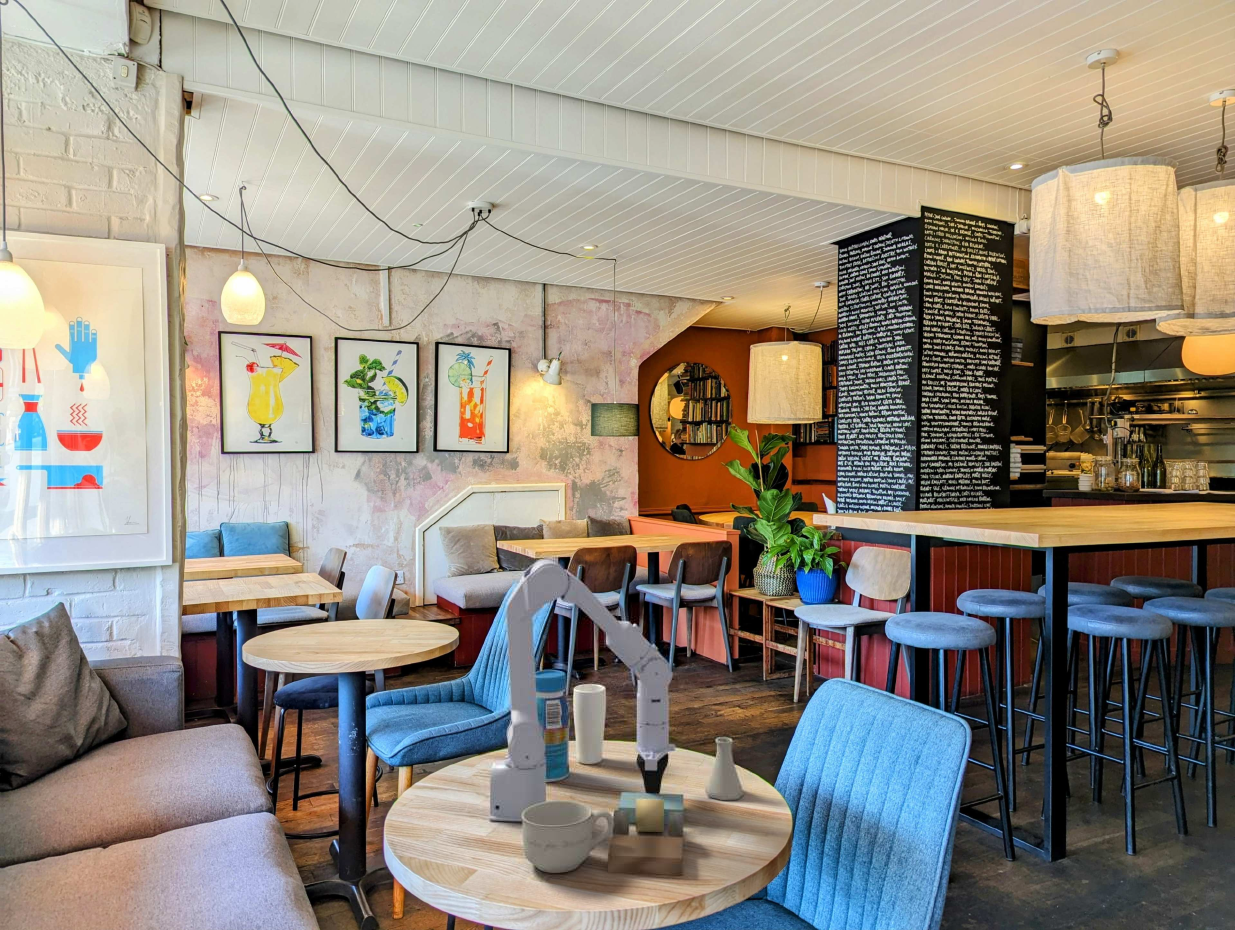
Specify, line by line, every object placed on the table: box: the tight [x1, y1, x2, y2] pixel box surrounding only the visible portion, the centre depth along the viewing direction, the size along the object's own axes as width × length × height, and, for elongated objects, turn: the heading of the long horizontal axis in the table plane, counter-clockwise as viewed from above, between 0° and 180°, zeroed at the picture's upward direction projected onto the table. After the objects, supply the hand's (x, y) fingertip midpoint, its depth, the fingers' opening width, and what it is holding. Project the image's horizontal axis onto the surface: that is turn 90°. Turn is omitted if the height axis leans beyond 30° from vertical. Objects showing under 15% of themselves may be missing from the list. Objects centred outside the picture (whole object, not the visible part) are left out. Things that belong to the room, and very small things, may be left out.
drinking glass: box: [572, 683, 607, 765], centre depth 168 cm, size 7×7×15 cm
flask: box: [704, 736, 745, 801], centre depth 151 cm, size 7×7×10 cm
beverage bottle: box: [535, 669, 571, 783], centre depth 160 cm, size 8×8×20 cm
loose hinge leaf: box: [617, 791, 685, 833], centre depth 139 cm, size 11×12×5 cm
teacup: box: [522, 800, 614, 874], centre depth 123 cm, size 14×11×8 cm
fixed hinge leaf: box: [607, 809, 684, 876], centre depth 126 cm, size 11×12×5 cm
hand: (652, 796), depth 146 cm, fingers closed
